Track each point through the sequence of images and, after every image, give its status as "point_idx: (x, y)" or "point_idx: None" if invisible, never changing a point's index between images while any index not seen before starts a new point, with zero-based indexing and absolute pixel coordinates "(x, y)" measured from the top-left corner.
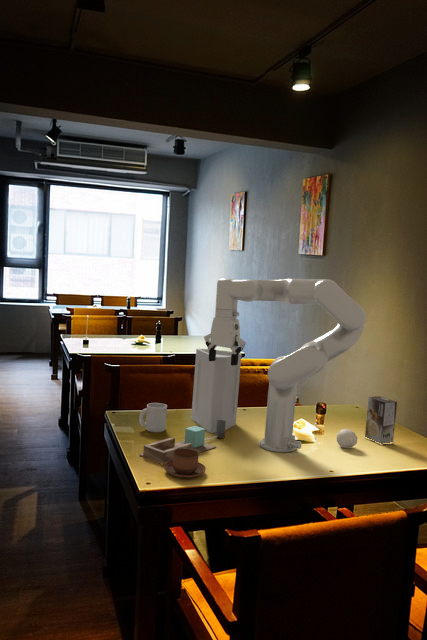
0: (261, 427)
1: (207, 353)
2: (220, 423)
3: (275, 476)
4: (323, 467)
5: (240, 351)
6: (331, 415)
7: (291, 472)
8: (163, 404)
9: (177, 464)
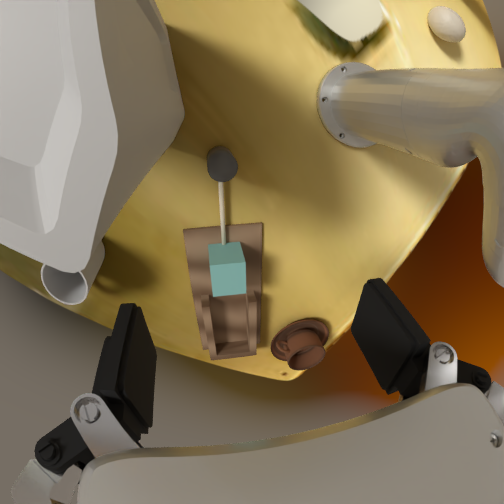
0: None
1: None
2: (229, 179)
3: (402, 247)
4: None
5: (458, 366)
6: None
7: (416, 215)
8: None
9: (301, 359)
